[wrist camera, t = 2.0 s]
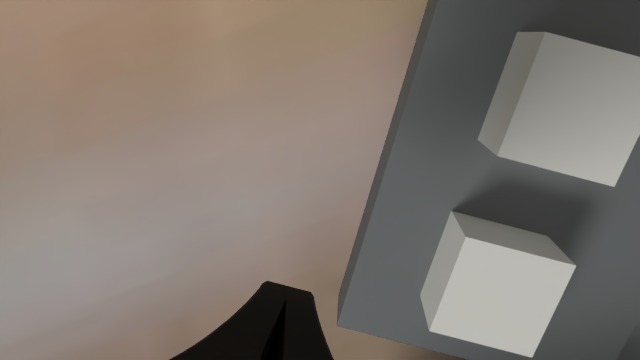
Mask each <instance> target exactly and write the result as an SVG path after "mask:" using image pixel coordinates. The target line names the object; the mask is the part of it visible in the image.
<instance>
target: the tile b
mask: <svg viewBox="0 0 640 360" xmlns="http://www.w3.org/2000/svg"><path fill="white" fill-rule="evenodd" d="M639 135H640V57H638V56H634V55H631V54H627V53H623V52H619V51H616V50H612V49H608V48H605V47H601V46H597V45H593V44H590V43H586V42H582V41H578V40H575V39H571V38H567V37H563V36H560V35H556V34H552V33H548V32H517V34H516V37H515V39H514V42H513V45H512V47H511V50H510V53H509V55H508V58H507V61H506V64H505V66H504V69H503V72H502V74H501V77H500V80H499V83H498V85H497V88H496V91H495V93H494V96H493V99H492V102H491V104H490V107H489V110H488V112H487V115H486V118H485V120H484V123H483V126H482V129H481V131H480V134H479V137H478V139H477V140H479V141H480V142H481V143H482V144H483V145H485V146H486V147H487V148H488V149H489V150H490V151H492V152H493V153H494V154H495V155H496V156H499V157H502V158H506V159H510V160H514V161H518V162H521V163H525V164H529V165H533V166H537V167H540V168H544V169H548V170H552V171H556V172H559V173H563V174H567V175H571V176H574V177H578V178H582V179H586V180H590V181H593V182H597V183H601V184H605V185H609V186H612V187H615V185H616V183H617V181H618V178H619V176H620V174H621V172H622V170H623V168H624V166H625V164H626V162H627V160H628V158H629V156H630V154H631V152H632V149H633V147H634V145H635V143H636V141H637V139H638V137H639Z"/></svg>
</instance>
